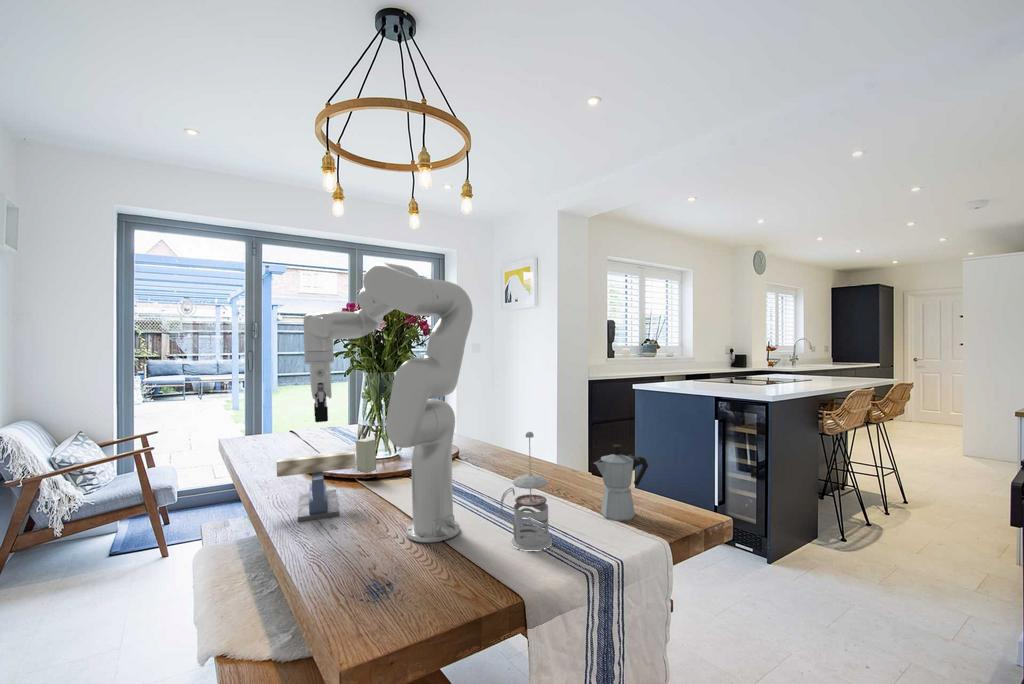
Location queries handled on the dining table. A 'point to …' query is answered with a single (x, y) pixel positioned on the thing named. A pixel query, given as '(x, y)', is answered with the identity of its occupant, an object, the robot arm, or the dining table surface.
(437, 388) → the robot arm
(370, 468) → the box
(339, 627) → the dining table surface
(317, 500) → the fulcrum
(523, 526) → the french press
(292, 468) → the beam
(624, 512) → the coffee maker
